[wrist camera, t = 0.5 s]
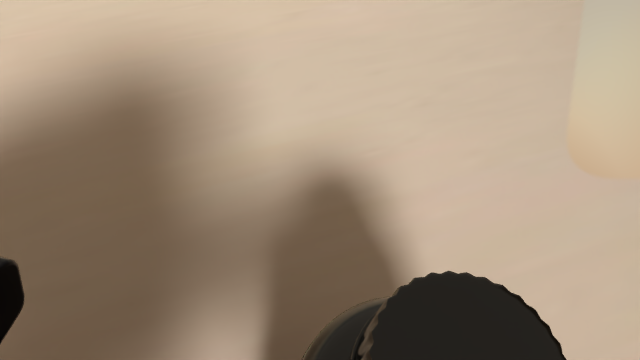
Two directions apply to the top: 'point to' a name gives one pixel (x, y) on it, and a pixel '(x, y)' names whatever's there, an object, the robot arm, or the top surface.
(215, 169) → the top surface
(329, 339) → the supplement bottle
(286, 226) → the top surface
